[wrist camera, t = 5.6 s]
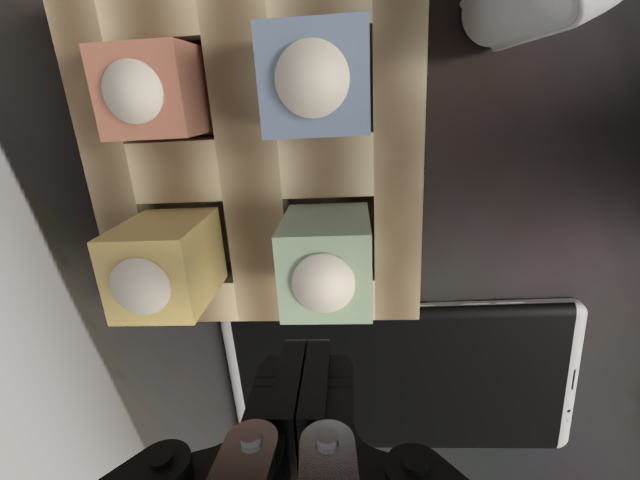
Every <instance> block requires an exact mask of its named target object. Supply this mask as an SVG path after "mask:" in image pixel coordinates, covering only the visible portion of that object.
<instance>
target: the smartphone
mask: <svg viewBox="0 0 640 480" xmlns="http://www.w3.org/2000/svg"><path fill="white" fill-rule="evenodd" d="M587 315H588V312H587V309H586V307H585V306H584V305H583V304H582V303H581V302H580V301H579V300H577V299H574V298H555V299H522V300H490V301H457V302H425V303H420V316H419V320H373V324H318V325H280V321H224V322H221V328H222V333H223V339H224V345H225V350H226V356H227V361H228V367H229V372H230V378H231V383H232V389H233V394H234V400H235V405H236V411H237V416H238V422H239V423H240V422H241V420H242V416H243V413H244V410H245V407H246V404H247V401H248V398H249V395H250V392H251V389H252V385H253V382H254V379H255V376H256V373H257V370H258V367H259V365H260V364H261V363H262V362H263V361H264V359H265V358H266V357H267V356H268V355H281V352H282V348H283V344H284V341H285V340H306V339H307V341H308V340H309V339H330V340H331V355H347V356H348V358H349V359H350V361H351V362H352V364H353V375H354V416H355V429H356V432H357V434H358V436H359V437H360V438H361V440H362V441H364V442H365V443H366V444H367V445H369V446H371V447H392V448H394V447H396V446H397V445H400V444H404V443H418V444H422V445H425V446H427V447H429V448H561V447H563V446H565V445H566V443H567V442H568V438H569V432H570V425H571V419H572V412H573V406H574V399H575V393H576V386H577V380H578V373H579V367H580V360H581V354H582V347H583V341H584V334H585V328H586V321H587Z"/></svg>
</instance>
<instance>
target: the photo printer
mask: <svg viewBox="0 0 640 480" xmlns="http://www.w3.org/2000/svg"><path fill="white" fill-rule="evenodd" d="M621 1H622V0H461V2H460V4H459V6H460V7H461V8H462V13H461V19H462V24H463V27H464V30H465V32H466V34H467V35H468V36H469V38H470V39H471V40H472V41H473V42H475V43H476V44H478V45H480V46H484V47H490V48H491V49H492V51H493V52H497V51H501V50H504V49H507V48H511V47H514V46H517V45H520V44H524V43H527V42H530V41H534V40H537V39H540V38H543V37H547V36H550V35H554V34H557V33H560V32H564V31H568V30H571V29H573V28H576V27H578V26H580V25H582V24H584V23H586V22H588V21H589V20H591V19H593V18H595V17H597V16H599V15H601V14H603V13H604V12H606V11H608V10H609V9H611V8H612V7H614V6H615V5H617V4H618V3H620V2H621Z"/></svg>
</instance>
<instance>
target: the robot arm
mask: <svg viewBox="0 0 640 480" xmlns="http://www.w3.org/2000/svg"><path fill="white" fill-rule="evenodd" d="M99 480H469V479H468V478H467V477H465V476H464V475H463V474H462V473H461V472H459V471H458V470H457V469H456V468H455V467H453V466H452V465H451V464H450V463H449V462H447V461H446V460H445V459H444V458H442V457H441V456H440V455H439V454H438V453H436V452H435V451H434V450H432V449H431V448H429V447H427V446H425V445H422V444H418V443H404V444H400V445H397V446H396V447H394V448H393V449H391V450H390V452H389V453H388V452H385V451H381V450H378V449H375V448H373V447H371V446H369V445H367V444H366V443H365V442H364V441H362V440H361V438H360V437H359V436H358V434H357V432H356V429H355V416H354V375H353V364H352V362H351V361H350V359H349V358H348V356H347V355H331V340H330V339H309V340H308V341H307V339H306V340H285V341H284V344H283V348H282V352H281V355H268V356H267V357H266V358H265V359H264V361H263V362H262V363H261V364H260V365H259V367H258V370H257V373H256V376H255V379H254V382H253V385H252V389H251V392H250V395H249V398H248V401H247V404H246V407H245V410H244V413H243V416H242V420H241V422H240V423H239V424H237V425H235V426H234V427H233V428H232V429H230V430H229V432H228V433H227V434H226V436H225V438H224V441H223V443H221V444H219V445H217V446H214V447H211V448H207V449H203V450H200V451H196V452H192V453H191V450H190V448H189V446H188V445H187V444H186V443H185V442H183V441H181V440H177V439H167V440H162V441H159V442H156V443H154V444H152V445H150V446H149V447H147V448H146V449H144V450H143V451H141V452H140V453H138V454H137V455H135V456H134V457H132V458H130V459H129V460H127V461H126V462H124V463H123V464H121V465H120V466H118V467H117V468H115V469H114V470H112V471H111V472H110V473H108V474H106V475H105V476H103V477H102V478H100V479H99Z"/></svg>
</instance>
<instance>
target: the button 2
mask: <svg viewBox="0 0 640 480" xmlns="http://www.w3.org/2000/svg"><path fill="white" fill-rule="evenodd" d="M87 246H88V249H89V253H90V257H91V261H92V265H93V269H94V273H95V277H96V281H97V285H98V289H99V293H100V296H101V300H102V304H103V308H104V312H105V316H106V320H107V324H108V326H194V325H195V324H196V322H197V321H198V319H199V318H200V317H201V315H202V314H203V312H204V311H205V309H206V308H207V306H208V305H209V303H210V302H211V300H212V299H213V297H214V296H215V294H216V293H217V291H218V290H219V288H220V287H221V285H222V284H223V282H224V281H225V279H226V278H227V276H228V275H227V268H226V261H225V254H224V246H223V239H222V232H221V225H220V218H219V210H218V207H205V208H175V209H145V210H143V211H142V212H140V213H138V214H136V215H135V216H133V217H131V218H129V219H128V220H126V221H124V222H122V223H121V224H119V225H117V226H115V227H114V228H112V229H110V230H108V231H106V232H105V233H103V234H101V235H99V236H98V237H96V238H94V239H92V240H91V241H89V242H87Z"/></svg>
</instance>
